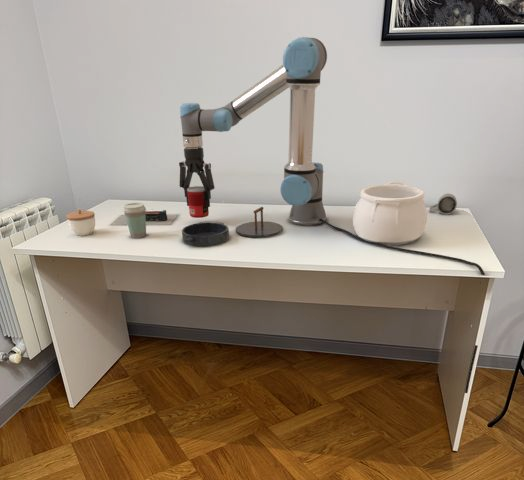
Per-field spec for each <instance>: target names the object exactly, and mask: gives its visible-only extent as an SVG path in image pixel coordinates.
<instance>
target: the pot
mask: <svg viewBox="0 0 524 480" xmlns="http://www.w3.org/2000/svg"><path fill="white" fill-rule="evenodd" d="M359 196H360V198H359V199H358V201H357V202H356V204H355V207H354V208H353V209H354V210H353V213H352V226H353V229H354V233H355V235H356V236H358V237H360V238H362V239H364V240H366V241H370V242H375V243H379V244H383V245H387V246H401V245H402V246H403V245H408V244H411V243H414V242H415V241H417V240H418V239H419V238H420V237H421V236H422V235H423V233H424V232H425V229H426V226H427V222H428V210H427V206H426V203H425V201H424V197H425V193H424V191H423V190H422V189H420V188H419V187H414V186H409V185H407V183H406V182H405V181H400V180H399V181H398V180H393V181H392V180H391V181H388V182H387V183H386V184H378V185H377V184H376V185H370V186H366V187H364V188H362V189H361V190H360V192H359Z"/></svg>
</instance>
